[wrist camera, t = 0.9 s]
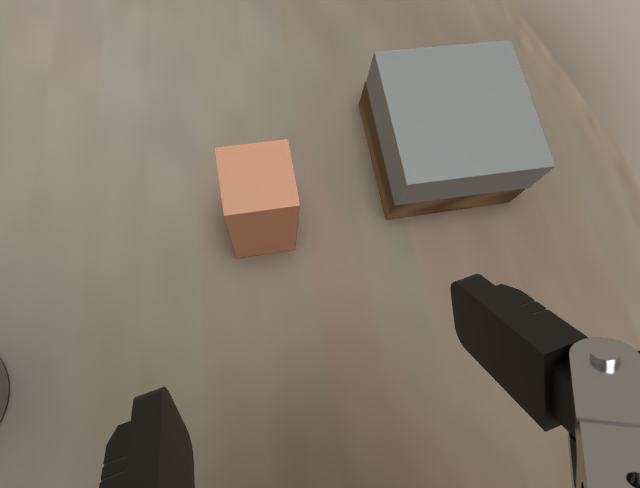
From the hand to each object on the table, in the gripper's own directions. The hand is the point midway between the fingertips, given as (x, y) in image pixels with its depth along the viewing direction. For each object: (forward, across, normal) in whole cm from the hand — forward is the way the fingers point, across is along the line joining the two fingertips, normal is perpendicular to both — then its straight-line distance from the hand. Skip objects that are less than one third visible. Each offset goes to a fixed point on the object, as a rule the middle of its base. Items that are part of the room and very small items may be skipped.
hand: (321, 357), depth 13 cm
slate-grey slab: (+27, -19, +4) cm, 33 cm away
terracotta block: (+28, -1, +7) cm, 29 cm away
